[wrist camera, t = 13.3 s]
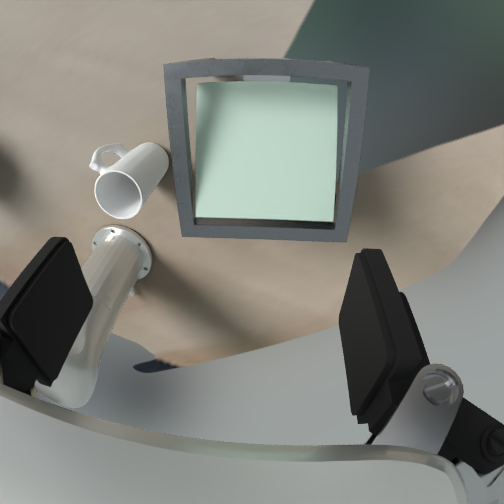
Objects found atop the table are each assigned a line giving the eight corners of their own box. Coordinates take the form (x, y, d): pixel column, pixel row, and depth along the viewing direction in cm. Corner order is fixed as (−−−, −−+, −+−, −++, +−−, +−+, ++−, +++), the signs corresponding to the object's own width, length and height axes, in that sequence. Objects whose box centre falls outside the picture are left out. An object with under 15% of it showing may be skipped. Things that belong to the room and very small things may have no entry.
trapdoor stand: (326, 181, 45) (346, 242, 32) (209, 178, 46) (182, 236, 33) (335, 61, 35) (369, 67, 22) (202, 58, 36) (163, 64, 23)
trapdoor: (331, 219, 32) (333, 221, 31) (197, 215, 33) (195, 217, 32) (335, 88, 28) (337, 85, 27) (199, 85, 29) (197, 83, 28)
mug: (179, 161, 45) (152, 196, 35) (153, 188, 48) (124, 228, 38) (132, 117, 41) (92, 142, 31) (109, 148, 44) (68, 179, 34)
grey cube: (289, 106, 34) (290, 59, 31) (243, 106, 35) (242, 58, 31) (287, 100, 39) (288, 58, 35) (247, 99, 39) (246, 57, 35)
